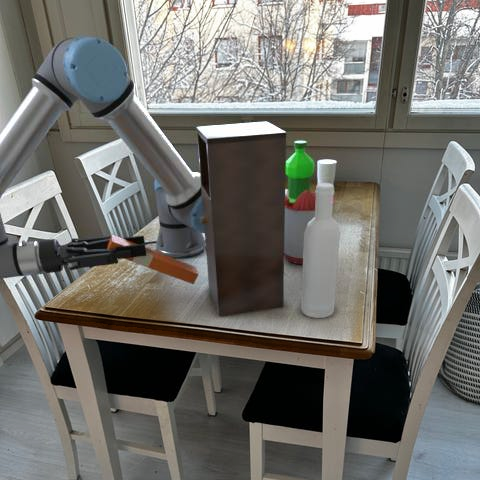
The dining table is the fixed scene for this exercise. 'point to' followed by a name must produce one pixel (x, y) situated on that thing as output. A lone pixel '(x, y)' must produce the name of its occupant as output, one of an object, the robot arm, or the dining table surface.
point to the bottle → (320, 257)
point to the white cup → (326, 171)
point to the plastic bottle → (299, 171)
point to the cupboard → (243, 214)
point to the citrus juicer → (298, 224)
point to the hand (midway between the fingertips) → (144, 245)
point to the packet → (158, 261)
